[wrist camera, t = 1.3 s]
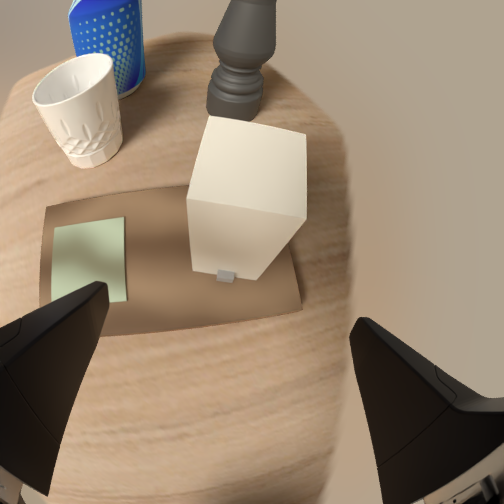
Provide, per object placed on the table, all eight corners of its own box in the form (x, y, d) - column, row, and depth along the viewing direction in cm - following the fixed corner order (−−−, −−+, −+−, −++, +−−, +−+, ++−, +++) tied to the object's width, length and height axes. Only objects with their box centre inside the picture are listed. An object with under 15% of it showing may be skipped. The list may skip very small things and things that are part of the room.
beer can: (85, 113, 26) (57, 7, 11) (90, 79, 28) (73, -11, 13) (148, 96, 28) (142, -17, 13) (144, 65, 30) (141, -28, 16)
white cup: (89, 186, 23) (53, 117, 14) (53, 155, 23) (21, 93, 14) (142, 136, 26) (130, 61, 17) (102, 112, 26) (85, 48, 17)
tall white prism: (255, 287, 21) (306, 232, 11) (191, 278, 21) (183, 211, 10) (262, 216, 23) (305, 126, 13) (204, 207, 23) (211, 108, 13)
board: (296, 312, 23) (326, 300, 17) (49, 338, 18) (10, 333, 12) (269, 188, 26) (286, 149, 21) (52, 213, 21) (25, 182, 16)
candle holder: (263, 101, 31) (323, -77, 8) (248, 130, 29) (314, -85, 5) (217, 87, 30) (252, -90, 7) (197, 115, 28) (225, -97, 5)
